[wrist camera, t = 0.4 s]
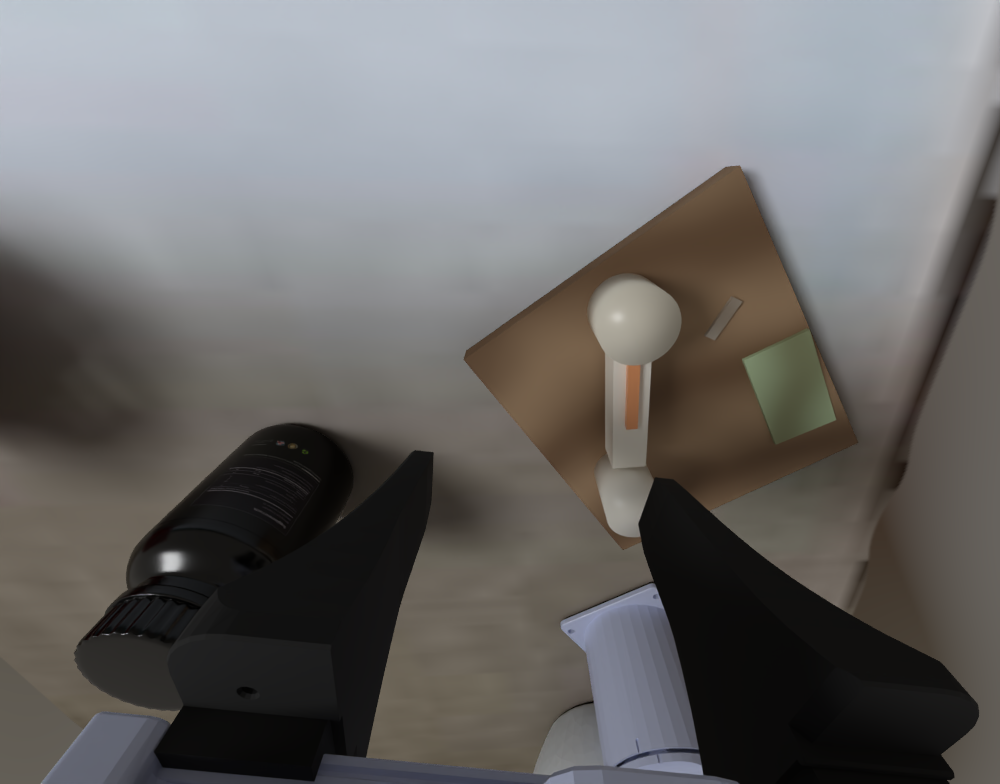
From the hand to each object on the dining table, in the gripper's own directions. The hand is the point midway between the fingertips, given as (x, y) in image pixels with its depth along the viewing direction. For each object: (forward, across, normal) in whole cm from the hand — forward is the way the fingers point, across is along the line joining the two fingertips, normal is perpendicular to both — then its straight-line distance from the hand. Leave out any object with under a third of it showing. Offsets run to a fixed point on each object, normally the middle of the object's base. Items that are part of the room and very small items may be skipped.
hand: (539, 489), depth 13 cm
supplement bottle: (+10, +13, +8) cm, 18 cm away
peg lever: (+8, -5, 0) cm, 9 cm away
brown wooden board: (+9, -7, 0) cm, 12 cm away
